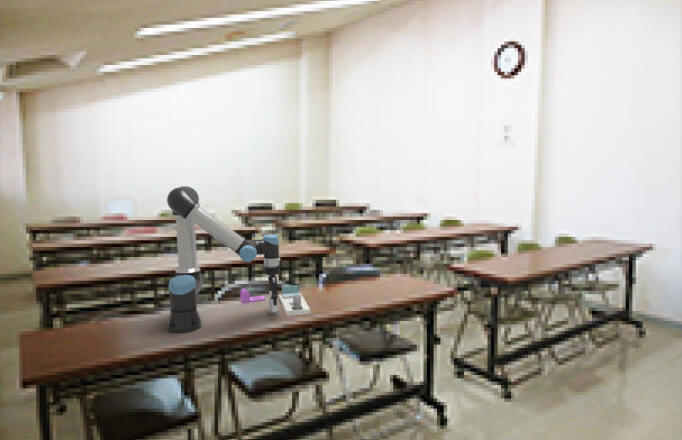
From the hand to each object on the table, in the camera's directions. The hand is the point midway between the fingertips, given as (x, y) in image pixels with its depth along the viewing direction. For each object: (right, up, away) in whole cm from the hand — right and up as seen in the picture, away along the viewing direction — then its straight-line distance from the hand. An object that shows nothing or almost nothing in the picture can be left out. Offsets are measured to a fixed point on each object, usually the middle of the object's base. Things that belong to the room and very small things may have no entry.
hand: (273, 307), depth 236 cm
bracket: (-14, -1, +24) cm, 28 cm away
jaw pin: (0, -4, 0) cm, 4 cm away
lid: (+6, +2, +22) cm, 23 cm away
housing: (+9, -2, +13) cm, 16 cm away
